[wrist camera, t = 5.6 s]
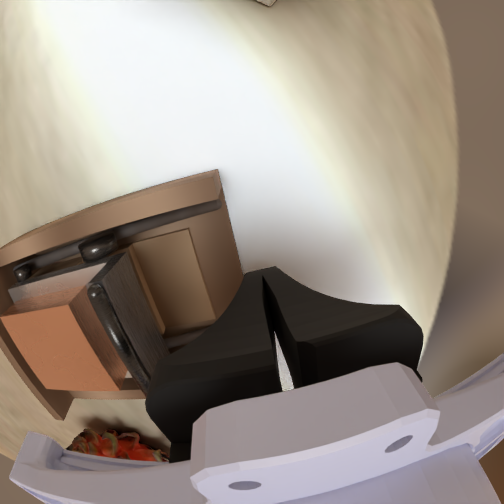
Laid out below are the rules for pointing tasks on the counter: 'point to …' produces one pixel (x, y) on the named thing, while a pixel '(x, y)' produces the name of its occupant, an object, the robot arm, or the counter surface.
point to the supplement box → (267, 2)
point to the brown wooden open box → (139, 266)
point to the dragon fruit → (115, 446)
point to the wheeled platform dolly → (85, 322)
